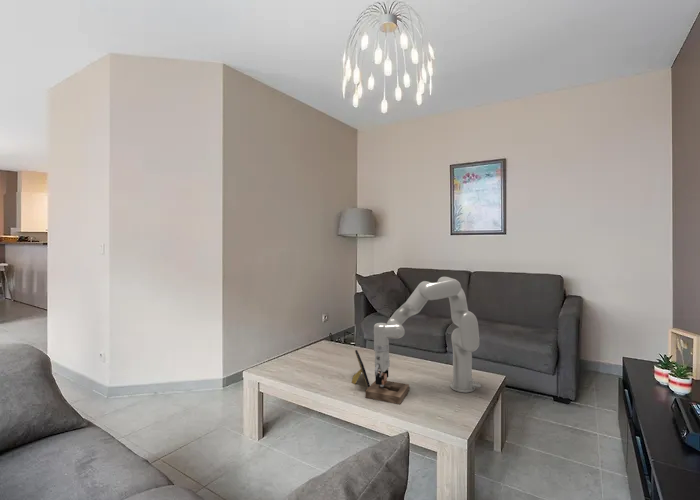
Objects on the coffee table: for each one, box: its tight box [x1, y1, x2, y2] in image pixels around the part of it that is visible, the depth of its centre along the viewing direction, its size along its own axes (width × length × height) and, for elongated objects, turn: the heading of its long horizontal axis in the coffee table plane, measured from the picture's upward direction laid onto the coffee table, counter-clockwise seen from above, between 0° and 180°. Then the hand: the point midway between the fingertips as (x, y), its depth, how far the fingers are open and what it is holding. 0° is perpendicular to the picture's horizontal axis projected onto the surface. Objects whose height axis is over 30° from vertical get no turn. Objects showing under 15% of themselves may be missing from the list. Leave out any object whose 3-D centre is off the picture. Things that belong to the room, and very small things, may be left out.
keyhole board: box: [364, 379, 410, 405], centre depth 179 cm, size 18×16×4 cm
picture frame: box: [351, 349, 371, 389], centre depth 194 cm, size 23×9×15 cm, turn 7°
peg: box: [378, 372, 388, 388], centre depth 180 cm, size 4×4×10 cm
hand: (382, 380), depth 180 cm, fingers open, 9 cm apart
